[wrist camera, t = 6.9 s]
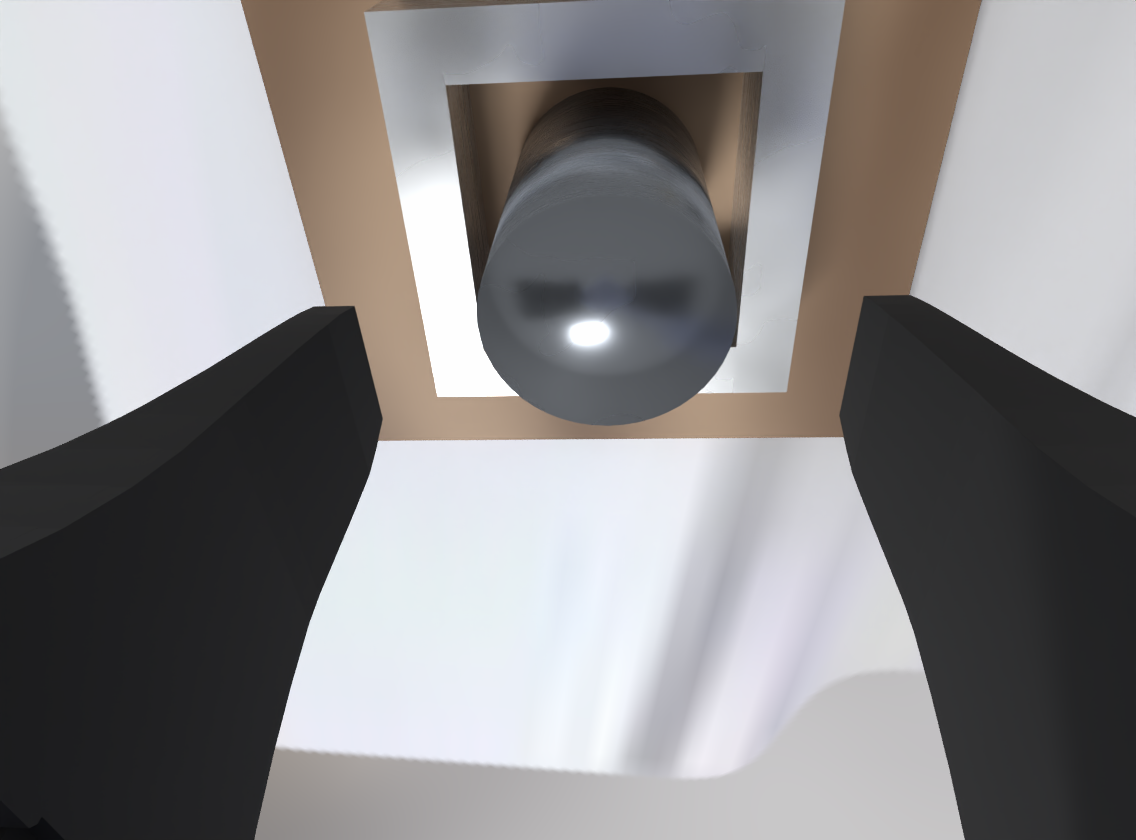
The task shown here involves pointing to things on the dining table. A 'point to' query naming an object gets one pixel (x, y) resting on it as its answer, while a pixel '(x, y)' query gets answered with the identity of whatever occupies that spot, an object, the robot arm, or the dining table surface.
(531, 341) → the dark grey cylinder
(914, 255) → the dock board
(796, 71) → the socket collar
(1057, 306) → the dining table surface
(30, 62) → the dining table surface
